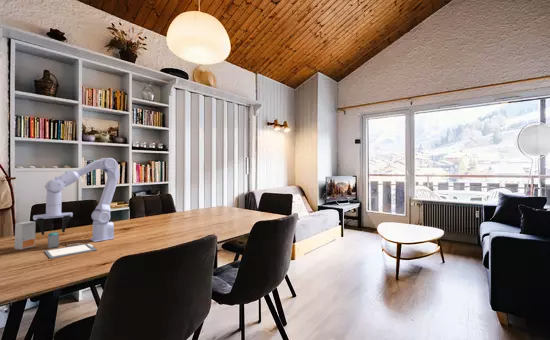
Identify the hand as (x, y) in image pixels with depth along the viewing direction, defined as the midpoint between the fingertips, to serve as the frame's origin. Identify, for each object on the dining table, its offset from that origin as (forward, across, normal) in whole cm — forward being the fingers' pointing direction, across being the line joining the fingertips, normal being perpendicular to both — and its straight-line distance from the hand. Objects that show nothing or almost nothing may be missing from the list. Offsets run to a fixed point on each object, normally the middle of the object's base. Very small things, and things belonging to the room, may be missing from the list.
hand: (53, 233), depth 128 cm
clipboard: (+7, -5, +12) cm, 15 cm away
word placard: (+7, -8, +2) cm, 11 cm away
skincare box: (+7, +9, -9) cm, 15 cm away
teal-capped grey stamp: (+7, 0, 0) cm, 7 cm away
